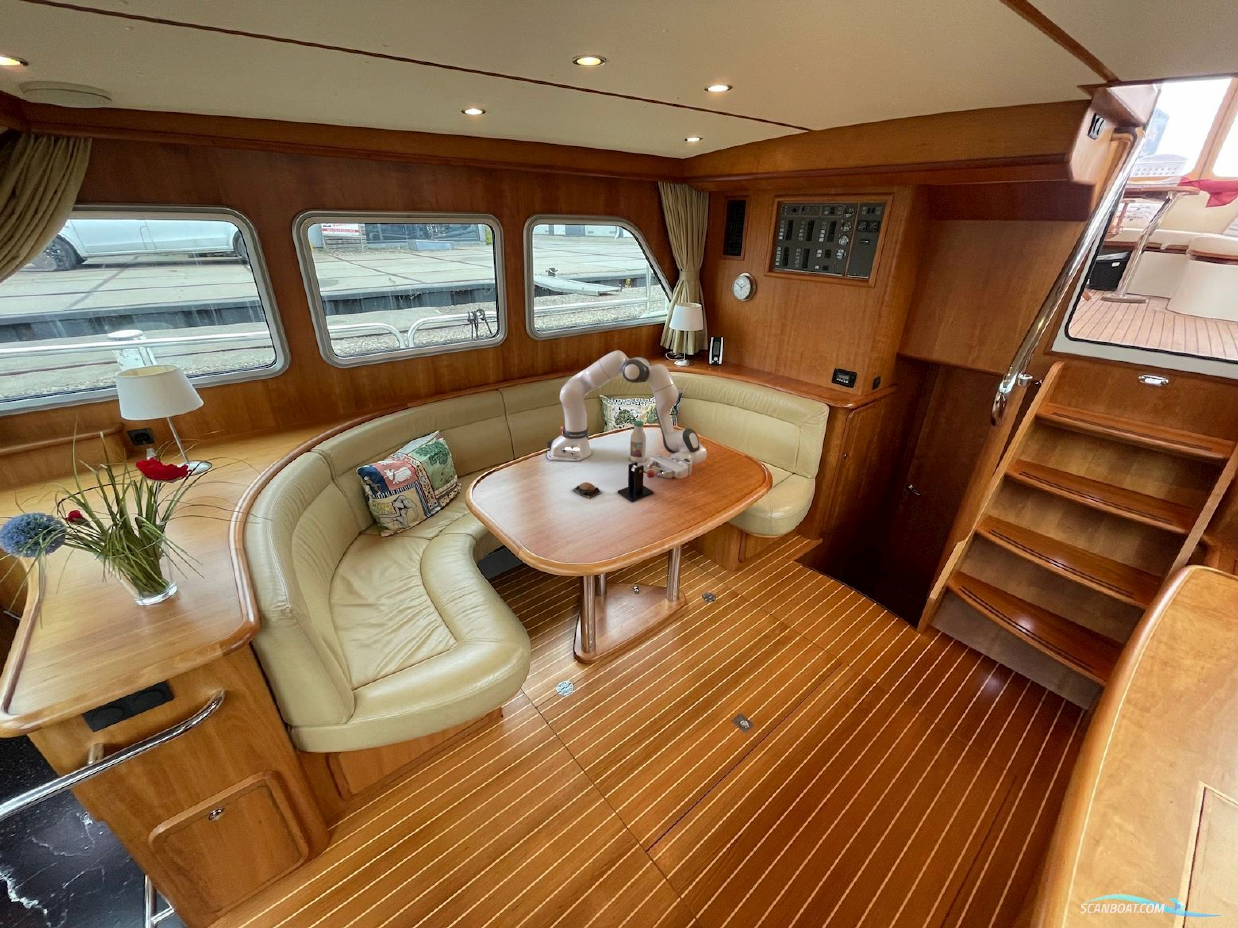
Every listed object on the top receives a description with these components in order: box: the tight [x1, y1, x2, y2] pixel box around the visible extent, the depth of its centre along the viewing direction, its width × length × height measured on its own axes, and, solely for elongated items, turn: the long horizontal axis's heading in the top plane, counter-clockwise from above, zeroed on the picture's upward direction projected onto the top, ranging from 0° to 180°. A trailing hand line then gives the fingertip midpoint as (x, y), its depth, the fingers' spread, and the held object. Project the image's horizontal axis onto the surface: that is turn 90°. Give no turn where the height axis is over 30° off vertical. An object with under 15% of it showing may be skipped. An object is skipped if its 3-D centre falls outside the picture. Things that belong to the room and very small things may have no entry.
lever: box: [631, 465, 656, 479], centre depth 208 cm, size 13×4×4 cm
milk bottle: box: [629, 420, 647, 463], centre depth 236 cm, size 8×8×20 cm
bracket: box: [617, 461, 654, 503], centre depth 206 cm, size 12×10×14 cm
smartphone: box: [657, 469, 674, 479], centre depth 229 cm, size 7×15×1 cm, turn 159°
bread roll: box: [572, 482, 602, 499], centre depth 210 cm, size 11×8×4 cm
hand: (655, 470), depth 212 cm, fingers open, 8 cm apart
